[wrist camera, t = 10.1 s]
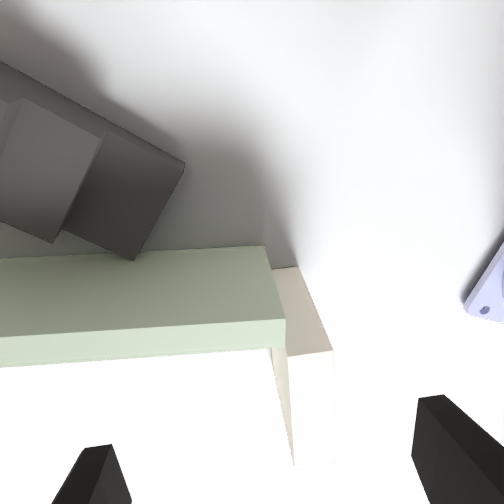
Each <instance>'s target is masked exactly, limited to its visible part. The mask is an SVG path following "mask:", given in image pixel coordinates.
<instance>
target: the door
mask: <svg viewBox="0 0 504 504" xmlns="http://www.w3.org/2000/svg"><path fill="white" fill-rule="evenodd" d="M285 329H286V317H285V314H284V310H283V307H282V304H281V300H280V297H279V294H278V290H277V287H276V283H275V280H274V277H273V273H272V270H271V267H270V263H269V260H268V256H267V253H266V250H265V246H243V247H223V248H202V249H182V250H162V251H141V252H139V253H138V255H137V256H136V258H135V260H134V261H132V260H130V259H128V258H125V257H123V256H121V255H119V254H117V253H100V254H80V255H60V256H39V257H19V258H0V368H2V367H16V366H30V365H44V364H58V363H72V362H86V361H100V360H114V359H128V358H142V357H156V356H170V355H184V354H198V353H212V352H226V351H240V350H254V349H268V348H281V347H285Z"/></svg>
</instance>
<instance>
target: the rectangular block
mask: <svg viewBox="0 0 504 504" xmlns="http://www.w3.org/2000/svg"><path fill="white" fill-rule="evenodd" d="M272 273H273V277H274V280H275V283H276V287H277V290H278V294H279V297H280V300H281V304H282V307H283V310H284V314H285V317H286V329H285V347H281V348H271V350H272V361H273V370H274V374H275V379H276V384H277V388H278V393H279V398H280V402H281V407H282V412H283V416H284V421H285V426H286V430H287V435H288V440H289V444H290V449H291V454H292V458H293V463H294V468H295V470H298V469H304V468H311V467H317V466H323V465H330V464H333V348H332V346H331V344H330V341H329V339H328V336H327V334H326V332H325V329H324V327H323V324H322V322H321V320H320V317H319V315H318V312H317V310H316V308H315V305H314V303H313V300H312V298H311V296H310V293H309V291H308V288H307V286H306V283H305V281H304V279H303V276H302V274H301V271H300V269H299V267H298V266H296V267H289V268H281V269H274V270H272Z"/></svg>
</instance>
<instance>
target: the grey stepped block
mask: <svg viewBox="0 0 504 504" xmlns="http://www.w3.org/2000/svg"><path fill="white" fill-rule="evenodd" d="M184 165H185V163H184V162H182V161H180V160H178V159H177V158H175V157H173V156H171V155H169V154H168V153H166V152H164V151H162V150H160V149H159V148H157V147H155V146H153V145H151V144H150V143H148V142H146V141H144V140H142V139H141V138H139V137H137V136H135V135H133V134H131V133H130V132H128V131H126V130H124V129H122V128H121V127H119V126H117V125H115V124H113V123H112V122H110V121H108V120H106V119H104V118H103V117H101V116H99V115H97V114H95V113H94V112H92V111H90V110H88V109H86V108H84V107H83V106H81V105H79V104H77V103H75V102H74V101H72V100H70V99H68V98H66V97H65V96H63V95H61V94H59V93H57V92H56V91H54V90H52V89H50V88H48V87H47V86H45V85H43V84H41V83H39V82H37V81H36V80H34V79H32V78H30V77H28V76H27V75H25V74H23V73H21V72H19V71H18V70H16V69H14V68H12V67H10V66H9V65H7V64H5V63H3V62H1V61H0V221H1V222H4V223H6V224H8V225H10V226H13V227H15V228H17V229H20V230H22V231H24V232H27V233H29V234H31V235H33V236H36V237H38V238H40V239H43V240H45V241H47V242H49V243H53V242H54V240H55V239H56V237H57V236H58V235H59V233H60V232H61V230H62V229H63V230H66V231H68V232H70V233H72V234H74V235H77V236H79V237H81V238H83V239H85V240H88V241H90V242H92V243H94V244H97V245H99V246H101V247H103V248H105V249H108V250H110V251H112V252H114V253H117V254H119V255H121V256H123V257H125V258H128V259H130V260H132V261H134V260H135V258H136V256H137V255H138V253H139V251H140V249H141V247H142V246H143V244H144V242H145V240H146V238H147V237H148V235H149V233H150V231H151V229H152V228H153V226H154V224H155V222H156V220H157V219H158V217H159V215H160V213H161V211H162V210H163V208H164V206H165V204H166V202H167V201H168V199H169V197H170V195H171V194H172V192H173V190H174V188H175V186H176V185H177V183H178V181H179V179H180V177H181V176H182V174H183V172H184Z"/></svg>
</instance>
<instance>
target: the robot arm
mask: <svg viewBox="0 0 504 504" xmlns="http://www.w3.org/2000/svg"><path fill="white" fill-rule="evenodd" d="M463 306H464V310H465V311H466V312H467V313H468V314H469V315H471V316H475V317H479V318H483V319H487V320H491V321H495V322H499V323H503V324H504V242H503V244H502V245H501V247H500V248H499V250H498V251H497V253H496V255H495V256H494V258H493V259H492V261H491V262H490V264H489V265H488V267H487V269H486V270H485V272H484V273H483V275H482V276H481V278H480V279H479V281H478V282H477V284H476V286H475V287H474V289H473V290H472V292H471V293H470V295H469V296H468V298H467V300H466V301H465V303H464V305H463ZM484 306H485V307H484ZM482 307H484V308H483V309H481V308H482ZM480 309H481V310H480ZM411 456H412V459H413V462H414V464H415V467H416V469H417V472H418V475H419V477H420V480H421V483H422V485H423V487H424V490H425V492H426V495H427V497H428V500H429V502H430V504H504V447H503V446H502V445H501V444H500V443H499V442H497V441H496V440H495V439H494V438H493V437H492V436H490V435H489V434H488V433H487V432H486V431H485V430H484V429H482V428H481V427H480V426H479V425H478V424H477V423H476V422H475V421H473V420H472V419H471V418H470V417H469V416H468V415H467V414H465V413H464V412H463V411H462V410H461V409H460V408H459V407H458V406H456V405H455V404H454V403H453V402H452V401H451V400H450V399H448V398H447V397H446V396H445V395H444V394H443V395H437V396H430V397H423V398H419V399H418V407H417V414H416V422H415V430H414V438H413V446H412V454H411ZM131 502H132V499H131V496H130V493H129V491H128V488H127V485H126V482H125V479H124V477H123V474H122V471H121V468H120V465H119V463H118V460H117V457H116V454H115V452H114V449H113V446H112V444H109V445H102V446H96V447H89V448H85V449H84V450H83V451H82V452H81V454H80V455H79V457H78V459H77V461H76V462H75V464H74V466H73V468H72V469H71V471H70V473H69V475H68V476H67V478H66V480H65V482H64V483H63V485H62V487H61V488H60V490H59V492H58V493H57V495H56V497H55V499H54V500H53V502H52V504H131Z"/></svg>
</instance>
